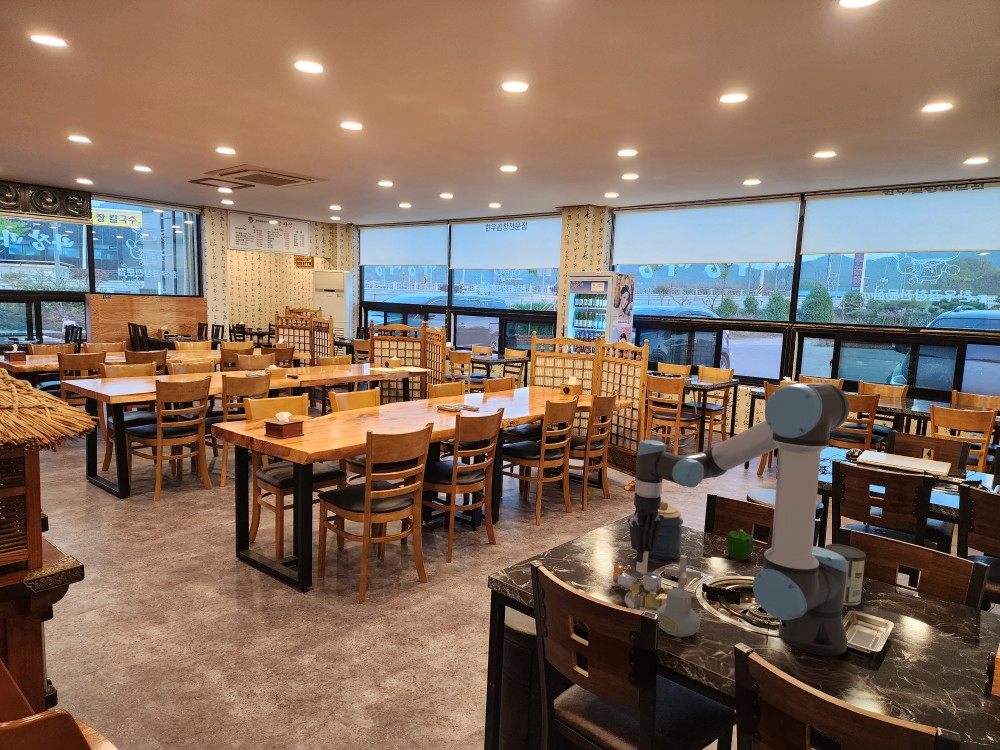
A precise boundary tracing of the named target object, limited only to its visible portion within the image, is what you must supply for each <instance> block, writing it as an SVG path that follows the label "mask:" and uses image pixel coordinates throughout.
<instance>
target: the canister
mask: <svg viewBox="0 0 1000 750" xmlns="http://www.w3.org/2000/svg"><path fill="white" fill-rule="evenodd" d="M658 513H659V514H661V515H663V516H664V518H663V520H662V522H661V525H660V529H659V533H658V537H657V541H656V545H655V547H654V548H653V547H652V548H651V549H653V551H652V552H650V551H649V557H650V558H653V559H656V560H665V561H666V560H667V561H671V560H676V559H678V558H680V557H681V555H680V554H681V552H682V535H683V529H682V525H683V524H684V520H683V518H682V517H681V516H682V513H681V511H679V510H678V509H677V508H676V507H674V506H672V505H669V504H668V502H667V501H664V500H663V501H662V500H661V505H660V509H658Z"/></svg>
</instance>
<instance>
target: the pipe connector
mask: <svg viewBox="0 0 1000 750" xmlns="http://www.w3.org/2000/svg"><path fill="white" fill-rule="evenodd" d="M679 558H680V559H679V563H678V564H677V568H673V567H666V566H665V567H664V571H663V572H664V575H670V576H671V575H673V576H678V584H677V588H679V589H683V590H685V586H686V583H688V578H696V579H701V578H702V572H701V571H698V570H691V569H690V570H689V569H687V565H688V563H687V562H688V556H687V555H684V554H681V555H680V556H679Z"/></svg>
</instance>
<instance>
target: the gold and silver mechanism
mask: <svg viewBox="0 0 1000 750" xmlns="http://www.w3.org/2000/svg"><path fill="white" fill-rule="evenodd" d="M662 579H663V577H662V575H660V574H658V573H656V572H652V571H651V572H648V571H647V573H645V574H643V579H642V580H643V590H642V591H643V592H644V593H646V594H649V590H653V591H656V595H660V593H661V583H662V581H663V580H662ZM630 591H631V590H628V592H626V593H625V595H624V603H626V604H625V605H626V607H627V608H629V607H630V608H634V609H637V610H644V611H649V612H654V613H656V611H657V609H653V608H646V607H644V606H640V603H641V595H640V594H635V598H634V602H633V601H632V600H631V599H630ZM630 608H629V609H630Z"/></svg>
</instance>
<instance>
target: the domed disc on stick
mask: <svg viewBox="0 0 1000 750" xmlns="http://www.w3.org/2000/svg"><path fill="white" fill-rule="evenodd" d="M624 569H625V566H624V565H622V564H617V563H616V564H614V565H613V579H612V581H613V582H614V583H616V584H619V585H620V586H622V587H623V588H625V589H628V591H630V599H631V600H632V601H633V602H634V598H635V594H640V595H641V603H640V606H644V607H646V608H653V609H658V608H659V607H661V606H662V605H665V604H666V602H667V592H668V590H670V589H672V588H673V586H671V585H666V584H664V583H662V582H661V593H660V595H656V591H653V590H649V594H646V593H644V592H643V591H642V590H643V579H640V580H639V579H637V578H636V577H634V576H632V575H630V574H628V573H627V572H625V571H624Z"/></svg>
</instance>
